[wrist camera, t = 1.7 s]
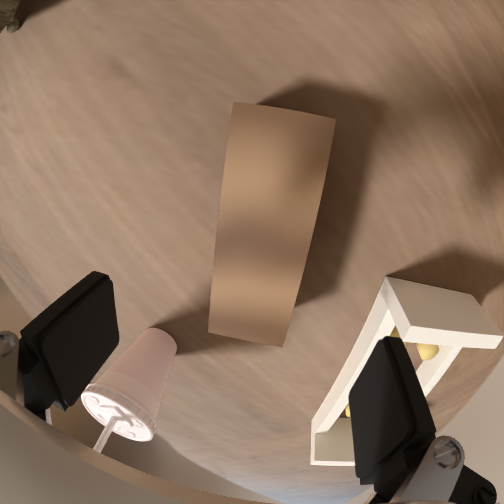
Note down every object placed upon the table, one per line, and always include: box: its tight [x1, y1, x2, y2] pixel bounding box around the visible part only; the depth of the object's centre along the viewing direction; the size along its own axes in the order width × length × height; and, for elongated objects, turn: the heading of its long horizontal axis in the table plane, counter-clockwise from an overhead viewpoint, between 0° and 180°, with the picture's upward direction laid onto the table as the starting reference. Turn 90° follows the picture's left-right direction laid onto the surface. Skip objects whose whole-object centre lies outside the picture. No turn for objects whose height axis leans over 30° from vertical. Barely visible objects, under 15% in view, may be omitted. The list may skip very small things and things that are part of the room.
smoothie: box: [81, 328, 177, 453], centre depth 19 cm, size 6×6×14 cm
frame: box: [311, 276, 503, 466], centre depth 20 cm, size 19×9×6 cm, turn 171°
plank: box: [208, 102, 336, 347], centre depth 17 cm, size 14×5×4 cm, turn 172°
